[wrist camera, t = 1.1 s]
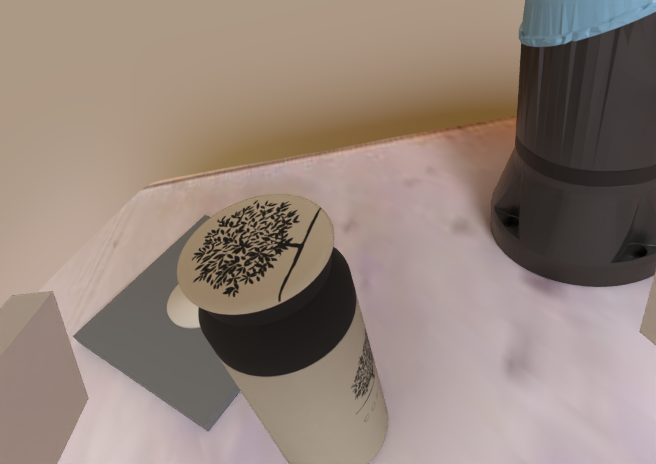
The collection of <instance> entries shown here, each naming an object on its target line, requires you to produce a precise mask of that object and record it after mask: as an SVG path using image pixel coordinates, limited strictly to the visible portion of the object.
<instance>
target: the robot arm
mask: <svg viewBox="0 0 656 464" xmlns="http://www.w3.org/2000/svg"><path fill="white" fill-rule="evenodd" d="M519 39H520V41H521V59H520V75H519V94H518V109H517V121H516V139H515V148H514V150H513V152H512V154H511V156H510V158H509V161H508V163H507V165H506V167H505V169H504V171H503V173H502V175H501V177H500V180H499V182H498V184H497V186H496V188H495V190H494V193H493V197H492V201H491V229H492V233H493V236H494V238H495V240H496V241H497V243H498V245H499V246H500V247H501V249H502V250H503V251H504V252H505V253H506V254H507V255H508V256H509V257H510V258H511V259H513V260H514V261H515V262H517V263H518V264H520V265H521V266H523V267H524V268H526V269H528V270H530V271H532V272H534V273H536V274H538V275H541V276H543V277H546V278H549V279H552V280H555V281H559V282H563V283H568V284H573V285H580V286H592V287H607V286H618V285H625V284H630V283H634V282H638V281H641V280H644V279H646V278H649V277H651V276H653V275H654V279H653V283H652V286H651V290H650V294H649V298H648V302H647V305H646V309H645V313H644V317H643V320H642V324H641V328H640V333H641V334H643V335H644V336H645V337H646V338H648V339H649V340H650V341H651V342H652V343H654V344H655V345H656V0H525V7H524V15H523V22H522V24H521V26H520V29H519ZM87 400H88V395H87V392H86V389H85V386H84V383H83V380H82V377H81V374H80V371H79V368H78V365H77V362H76V359H75V356H74V353H73V350H72V347H71V344H70V341H69V338H68V335H67V332H66V329H65V326H64V323H63V320H62V317H61V314H60V311H59V308H58V305H57V302H56V299H55V296H54V293H53V291H51V292H41V293H31V294H21V295H13V296H11V297H10V298H9V299H8V300H7V301H6V303H5V304H4V305H3V306H2V307H1V308H0V464H57V463H58V461H59V459H60V457H61V455H62V453H63V451H64V448H65V446H66V444H67V442H68V440H69V438H70V436H71V434H72V432H73V430H74V428H75V425H76V423H77V421H78V419H79V417H80V415H81V413H82V411H83V409H84V407H85V405H86V402H87Z"/></svg>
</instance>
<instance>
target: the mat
mask: <svg viewBox="0 0 656 464" xmlns="http://www.w3.org/2000/svg"><path fill="white" fill-rule="evenodd" d="M210 218H211V217H209V216H206V215H205V216H204V217H202V218H201V219H200V220H199V221H198V222H197V223H196V224H195V225H194V226H193V227H192V228H190V229H189V230H188V231H187V232H186V233H185V234H184V235H183V236H182V237H181V238H180V239H178V240H177V241H176V242H175V243H174V244H173V245H172V246H171V247H170V248H169V249H168V250H166V251H165V252H164V253H163V254H162V255H161V256H160V257H159V258H158V259H157V260H156V261H155V262H153V263H152V264H151V265H150V266H149V267H148V268H147V269H146V270H145V271H144V272H143V273H141V274H140V275H139V276H138V277H137V278H136V279H135V280H134V281H133V282H132V283H131V284H129V285H128V286H127V287H126V288H125V289H124V290H123V291H122V292H121V293H120V294H119V295H117V296H116V297H115V298H114V299H113V300H112V301H111V302H110V303H109V304H108V305H107V306H105V307H104V308H103V309H102V310H101V311H100V312H99V313H98V314H97V315H96V316H95V317H93V318H92V319H91V320H90V321H89V322H88V323H87V324H86V325H85V326H84V327H83V328H81V329H80V330H79V331H78V332H77V333H76V334H75V335H74V336H73V337H74V338H75V339H76V340H77V341H78V342H79V343H81V344H82V345H84V346H85V347H86V348H88V349H89V350H91V351H92V352H94V353H95V354H97V355H98V356H100V357H101V358H102V359H104V360H105V361H107V362H108V363H110V364H111V365H113V366H114V367H115V368H117V369H118V370H120V371H121V372H123V373H124V374H126V375H127V376H129V377H130V378H131V379H133V380H134V381H136V382H137V383H139V384H140V385H142V386H143V387H145V388H146V389H147V390H149V391H150V392H152V393H153V394H155V395H156V396H158V397H159V398H161V399H162V400H163V401H165V402H166V403H168V404H169V405H171V406H172V407H174V408H175V409H177V410H178V411H179V412H181V413H182V414H184V415H185V416H187V417H188V418H190V419H191V420H193V421H194V422H195V423H197V424H198V425H200V426H201V427H203V428H204V429H206V430H207V431H209V430H210V429H211V427H212V426H213V425H214V424H215V422H216V421H217V420H218V418H219V417H220V416H221V415H222V413H223V412H224V411H225V409H226V408H227V407H228V406H229V404H230V403H231V402H232V400H233V399H234V398H235V396H236V395H237V394H238V393H239V391H240V389H239V387H238V386H237V384H236V383H235V381H234V380H233V378H232V377H231V375H230V374H229V372H228V371H227V369H226V368H225V366H224V365H223V363H222V362H221V360H220V359H219V357H218V356H217V354H216V353H215V351H214V350H213V348H212V347H211V345H210V344H209V342H208V340H207V339H206V337H205V336H204V334H203V332H202V330H201V327H200V324H199V318H198V308H199V307H198V306H196V305H195V304H193V303H192V302H191V301H189V300H188V298H187V297H186V296H185V295H184V293H183V292H182V290H181V288H180V286H179V283H178V279H177V265H178V260H179V257H180V254H181V252H182V250H183V248H184V246H185V244H186V243H187V241H188V240H189V238H190V237H191V236H192V235H193V233H194V232H195V231H196V230H197V229H198V228H199V227H200V226H201V225H202V224H203V223H205V222H206V221H207V220H208V219H210Z"/></svg>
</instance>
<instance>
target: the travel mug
mask: <svg viewBox="0 0 656 464" xmlns="http://www.w3.org/2000/svg"><path fill="white" fill-rule="evenodd" d="M333 245H334V229H333V225H332V222H331V220H330V218H329V216H328V215H327V214H326V212H325V211H324V210H323V209H322V208H321V207H319V206H318V205H317V204H315V203H313V202H312V201H310V200H307V199H305V198H302V197H298V196H292V195H266V196H260V197H255V198H251V199H247V200H244V201H241V202H239V203H236V204H234V205H232V206H230V207H228V208H226V209H224V210H222V211H220V212H219V213H217V214H215V215H214V216H212V217H211V218H210V219H208V220H207V221H206V222H205V223H203V224H202V225H201V226H200V227H199V228H198V229H197V230H196V231H195V232H194V233H193V235H192V236H191V237H190V238H189V240H188V241H187V243H186V244H185V246H184V248H183V250H182V252H181V254H180V257H179V260H178V265H177V279H178V283H179V286H180V288H181V290H182V292H183V293H184V295H185V296H186V297H187V298H188V300H189V301H191V302H192V303H193V304H195V305H196V306H198V307H199V308H198V318H199V324H200V327H201V330H202V332H203V334H204V336H205V337H206V339H207V340H208V342H209V344H210V345H211V347H212V348H213V350H214V351H215V353H216V354H217V356H218V357H219V359H220V360H221V362H222V363H223V365H224V366H225V368H226V369H227V371H228V372H229V374H230V375H231V377H232V378H233V380H234V381H235V383H236V384H237V386H238V387H239V389H240V390H241V392H242V394H243V395H244V397H245V398H246V400H247V401H248V403H249V404H250V406H251V407H252V409H253V410H254V412H255V413H256V415H257V416H258V418H259V419H260V421H261V422H262V424H263V425H264V427H265V428H266V430H267V431H268V433H269V434H270V436H271V437H272V439H273V440H274V442H275V444H276V445H277V447H278V448H279V450H280V451H281V453H282V454H283V456H284V457H285V459H286V460H287V461H288V463H289V464H368V463H369V462H371V461H372V459H373V458H374V457H375V456H376V454H377V453H378V451H379V450H380V448H381V446H382V444H383V442H384V439H385V436H386V432H387V426H388V414H387V408H386V404H385V400H384V396H383V393H382V389H381V385H380V381H379V378H378V374H377V370H376V366H375V363H374V359H373V355H372V351H371V348H370V344H369V340H368V336H367V333H366V329H365V325H364V321H363V317H362V314H361V310H360V306H359V302H358V299H357V295H356V291H355V287H354V284H353V280H352V276H351V272H350V269H349V266H348V264H347V261H346V260H345V258H344V257H343V255H342V254H341V253H340V252H339V251H338V250H337V249H336V248H335V247H333Z"/></svg>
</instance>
